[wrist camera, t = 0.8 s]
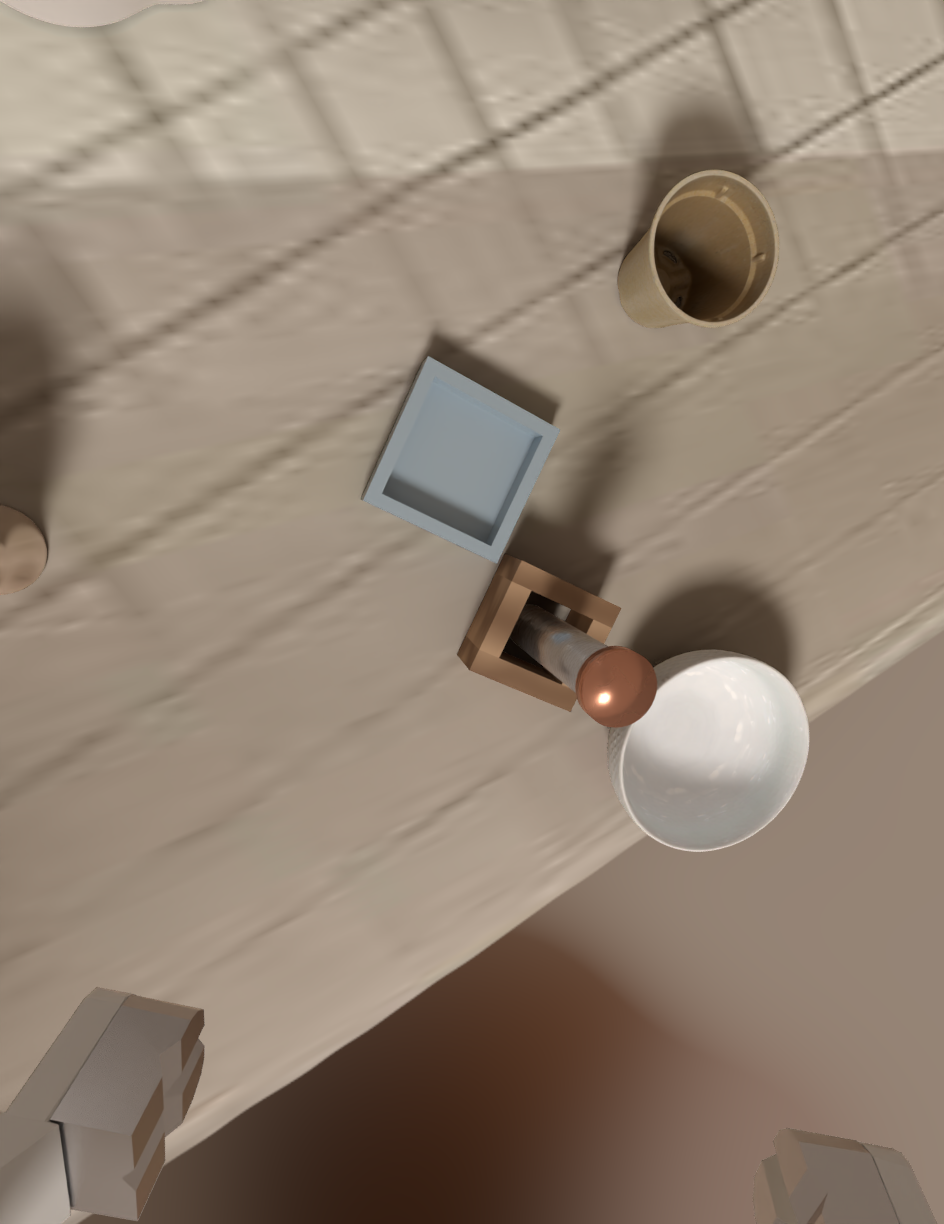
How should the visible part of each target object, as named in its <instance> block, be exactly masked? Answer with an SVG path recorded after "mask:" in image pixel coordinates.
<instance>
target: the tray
mask: <svg viewBox="0 0 944 1224" xmlns="http://www.w3.org/2000/svg"><path fill="white" fill-rule="evenodd" d="M559 432H560V429H558V428H556V427H555V426H553V425H551V424H549V423H547V422H546V421H544V420H542V419H540V418H538V417H537V416H535V415H533V414H531V413H529V412H528V411H526V410H524V409H522V408H520V407H519V406H517V405H515V404H513V403H511V402H510V401H508V400H506V399H504V398H503V397H501V396H499V395H497V394H495V393H494V392H492V391H490V390H488V389H486V388H485V387H483V386H481V385H479V384H477V383H476V382H474V381H472V380H470V379H468V378H467V377H465V376H463V375H461V374H459V373H458V372H456V371H454V370H452V369H451V368H449V367H447V366H445V365H443V364H442V363H440V362H438V361H436V360H434V359H433V358H431V357H429V356H428V357H427V358H426V359H425V360H424V361H423V362H422V365H421V367H420V369H419V371H418V373H417V376H416V378H415V380H414V382H413V384H412V387H411V389H410V391H409V393H408V396H407V398H406V400H405V402H404V404H403V407H402V409H401V411H400V413H399V416H398V418H397V420H396V422H395V424H394V427H393V429H392V431H391V433H390V435H389V438H388V440H387V442H386V444H385V447H384V449H383V451H382V453H381V455H380V458H379V460H378V462H377V464H376V467H375V469H374V471H373V473H372V475H371V478H370V480H369V482H368V484H367V486H366V489H365V491H364V493H363V495H362V498H361V500H363V501H365V502H368V503H370V504H372V505H374V506H376V507H378V508H380V509H382V510H384V511H387V512H389V513H391V514H393V515H395V516H397V517H399V518H401V519H404V520H406V521H408V522H410V523H412V524H414V525H416V526H418V527H420V528H423V529H425V530H427V531H429V532H431V533H433V534H435V535H437V536H439V537H442V538H444V539H446V540H448V541H450V542H452V543H454V544H456V545H458V546H461V547H463V548H465V549H467V550H469V551H471V552H473V553H475V554H478V555H480V556H482V557H484V558H486V559H488V560H490V561H492V562H494V563H498V560H499V558H500V556H501V554H502V552H503V550H504V548H505V546H506V544H507V541H508V539H509V537H510V535H511V533H512V531H513V529H514V527H515V525H516V522H517V520H518V518H519V516H520V514H521V512H522V510H523V508H524V506H525V503H526V501H527V499H528V497H529V495H530V493H531V491H532V489H533V487H534V484H535V482H536V480H537V478H538V476H539V474H540V472H541V470H542V468H543V465H544V463H545V461H546V459H547V457H548V455H549V453H550V451H551V448H552V446H553V444H554V442H555V440H556V438H557V436H558V434H559Z"/></svg>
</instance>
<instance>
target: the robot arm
mask: <svg viewBox="0 0 944 1224" xmlns="http://www.w3.org/2000/svg"><path fill="white" fill-rule="evenodd" d="M0 1H1V2H3V3H4V4H6V5H8V6H9V7H11V8H13V9H15V10H17V11H19V12H21V13H23V14H25V15H28V16H30V17H33V18H35V19H38V20H41V21H45V22H48V23H52V24H57V25H62V26H70V27H95V26H103V25H107V24H112V23H115V22H118V21H121V20H123V19H126V18H128V17H130V16H132V15H134V14H136V13H138V12H140V11H142V10H144V9H146V8H148V7H151V6H153V5H157V4H193V3H198V2H201V1H203V0H0ZM204 1025H205V1024H204V1009H199V1008H195V1007H190V1006H185V1005H180V1004H175V1003H170V1002H165V1001H160V1000H155V999H151V998H146V997H141V996H137V995H134V994H130V993H125V992H120V991H115V990H110V989H104V988H99V987H96V988H95V989H94V990H93V991H92V992H91V993H90V994H89V995H88V996H86V997H85V998H84V999H83V1001H82V1002H81V1004H80V1005H79V1006H78V1008H77V1009H76V1011H75V1012H74V1014H73V1015H72V1017H71V1018H70V1019H69V1021H68V1022H67V1024H66V1025H65V1027H64V1028H63V1030H62V1031H61V1032H60V1034H59V1035H58V1037H57V1038H56V1040H55V1041H54V1043H53V1044H52V1046H51V1047H50V1048H49V1050H48V1051H47V1053H46V1054H45V1056H44V1057H43V1059H42V1060H41V1061H40V1063H39V1064H38V1066H37V1067H36V1069H35V1070H34V1072H33V1073H32V1074H31V1076H30V1077H29V1079H28V1080H27V1082H26V1083H25V1085H24V1086H23V1087H22V1089H21V1090H20V1092H19V1093H18V1095H17V1096H16V1098H15V1099H14V1100H13V1102H12V1103H11V1105H10V1106H9V1108H8V1109H7V1111H6V1112H1V1111H0V1224H62V1223H63V1222H64V1221H65V1220H66V1219H67V1218H68V1217H69V1216H70V1215H71V1209H72V1210H78V1211H83V1212H89V1213H94V1214H100V1215H106V1216H112V1217H117V1218H123V1219H128V1220H134V1221H138V1219H139V1217H140V1215H141V1212H142V1210H143V1208H144V1206H145V1204H146V1202H147V1200H148V1197H149V1195H150V1193H151V1191H152V1189H153V1186H154V1184H155V1182H156V1180H157V1178H158V1175H159V1173H160V1171H161V1169H162V1167H163V1165H164V1163H165V1137H166V1136H167V1135H168V1134H170V1133H171V1132H172V1131H173V1130H174V1129H176V1128H177V1127H178V1126H179V1125H181V1124H182V1123H183V1121H184V1118H185V1116H186V1114H187V1112H188V1109H189V1107H190V1105H191V1103H192V1100H193V1098H194V1095H195V1092H196V1088H197V1085H198V1082H199V1079H200V1076H201V1073H202V1067H203V1062H204V1045H203V1044H202V1042H201V1041H200V1040H199V1039H198V1038H199V1035H200V1033H201V1031H202V1029H203V1027H204ZM773 1143H774V1147H775V1150H776V1154H775V1155H773V1156H771V1157H769V1158H767V1159H764V1160H762V1161H761V1164H760V1166H759V1168H758V1170H757V1172H756V1174H755V1177H754V1190H753V1205H754V1214H755V1221H756V1224H937V1222H936V1220H935V1218H934V1216H933V1213H932V1211H931V1209H930V1207H929V1205H928V1202H927V1200H926V1198H925V1196H924V1194H923V1191H922V1189H921V1187H920V1185H919V1182H918V1180H917V1178H916V1176H915V1174H914V1171H913V1169H912V1167H911V1165H910V1163H909V1162H908V1161H907V1160H906V1158H905V1157H904V1156H903V1154H902V1153H901V1152H899V1151H897V1150H895V1149H892V1148H888V1147H883V1146H878V1145H872V1144H867V1143H862V1142H857V1141H856V1140H851V1139H845V1138H840V1137H834V1136H829V1135H823V1134H817V1133H812V1132H807V1131H801V1130H796V1129H790V1128H786V1129H782V1130H779V1132H778V1134H777V1135H776V1137H775V1139H774V1140H773Z"/></svg>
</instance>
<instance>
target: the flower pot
mask: <svg viewBox="0 0 944 1224" xmlns="http://www.w3.org/2000/svg"><path fill="white" fill-rule="evenodd" d="M664 251H667V252H670V253H671V254H672V255H674V256H675V258H676V261H677V262H676V263H675V262H674V261H673V260H671V259H670V258H669V257H668V256H666V255H664ZM778 260H779V235H778V229H777V224H776V221H775V217H774V214H773V212H772V210H771V207H770V206H769V204H768V202H767V200H766V198H765V197H764V196H763V194H762V193H761V192H760V191H759V190H758V189H757V187H755V186H754V185H753V184H752V183H750V182H749V181H748V180H746V179H745V178H743V177H741V176H739V175H737V174H735V173H732V172H729V171H725V170H715V169H712V170H705V171H700V172H697V173H694V174H692V175H689V176H688V177H686V178H684V179H683V180H681V181H680V182H679V183H678V184H676V185H675V186H674V187H673V188H672V189H671V190H670V191H669V193H668V194H667V195H666V196H665V197H664V199H663V200H662V202H661V203H660V205H659V207H658V209H657V211H656V213H655V216H654V218H653V221H652V224H651V228H650V229H649V230H648V231H647V233H646V234H645V235H644V236H643V237H642V239H641V240H640V241H639V242H638V243H637V245H636V246H635V247H634V248H633V249H632V251H630V253H629V254H628V255H627V256H626V258H625V259H624V261H623V263H622V265H621V268H620V271H619V275H618V289H619V294H620V300H621V305H622V307H623V309H624V310H625V312H626V313H627V314H628V316H629V317H630V318H631V319H632V320H633V321H635V322H636V323H638V324H640V325H642V326H645V327H648V328H663V327H666V326H671V325H677V324H683V323H691V324H694V325H697V326H701V327H710V328H713V327H722V326H726V325H730V324H733V323H735V322H737V321H739V320H741V319H743V318H744V317H746V316H747V315H749V314H750V313H751V312H752V311H753V310H754V309H755V308H756V307H757V306H758V305H759V304H760V303H761V301H762V300H763V298H764V297H765V295H766V294H767V292H768V290H769V288H770V286H771V284H772V281H773V279H774V276H775V273H776V269H777V264H778ZM679 297H682V299H681V303H680V305H679V307H677V306H676V305H675V304H676V302H677V300H678V298H679Z"/></svg>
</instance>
